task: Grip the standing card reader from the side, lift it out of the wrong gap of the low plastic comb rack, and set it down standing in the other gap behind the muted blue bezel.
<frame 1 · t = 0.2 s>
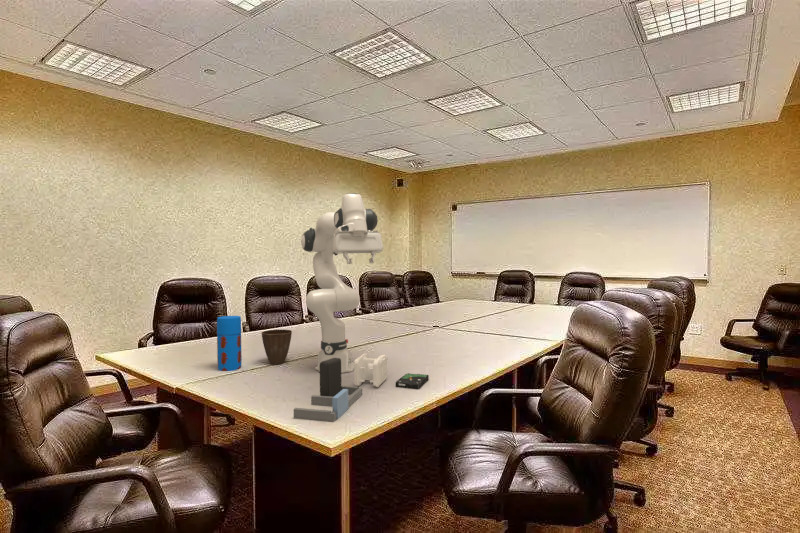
hand: (360, 263, 171), 52 cm above the table, tool tilted 20°, fingers open, 8 cm apart
cable organizer: (371, 383, 184), on the table
comb rack: (328, 405, 157), on the table
plant pot: (277, 363, 220), on the table
card reader: (330, 399, 164), resting in comb rack
thermos: (229, 368, 210), on the table
disk drive: (412, 384, 184), on the table
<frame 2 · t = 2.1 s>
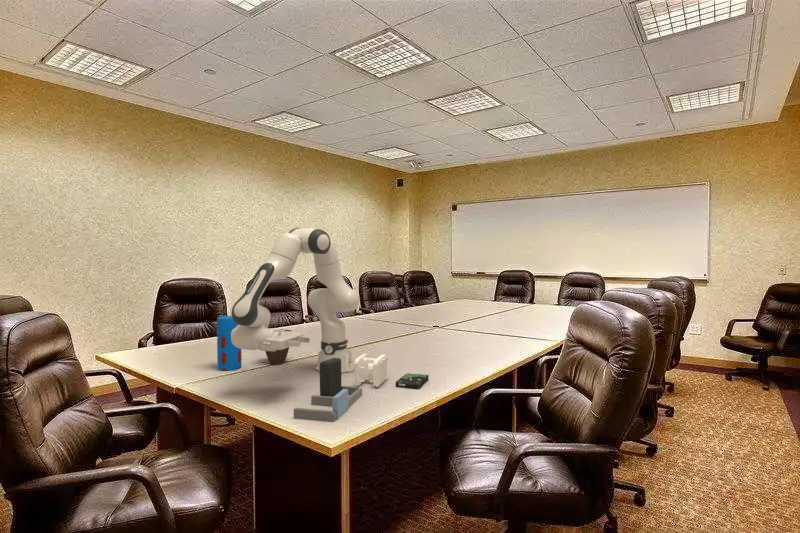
hand: (304, 342, 166), 21 cm above the table, tool horizontal, fingers open, 8 cm apart
nothing on the table moved.
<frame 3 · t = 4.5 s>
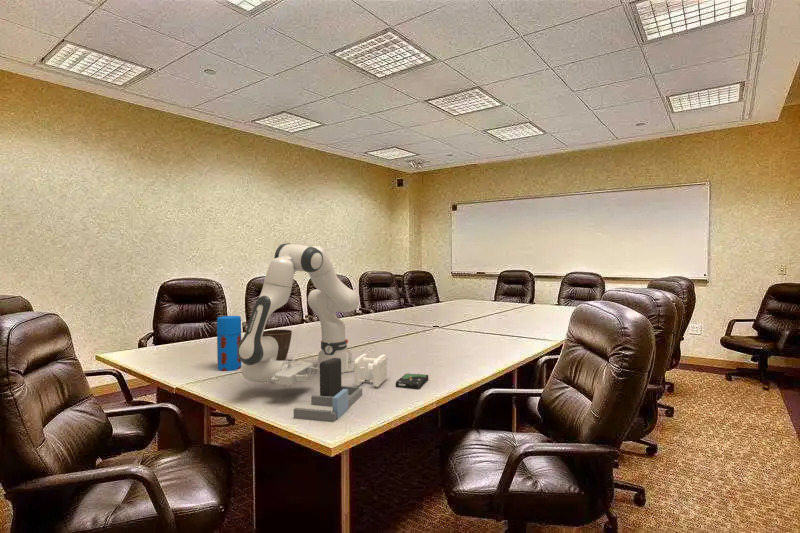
hand: (313, 374, 166), 9 cm above the table, tool horizontal, fingers open, 8 cm apart
nothing on the table moved.
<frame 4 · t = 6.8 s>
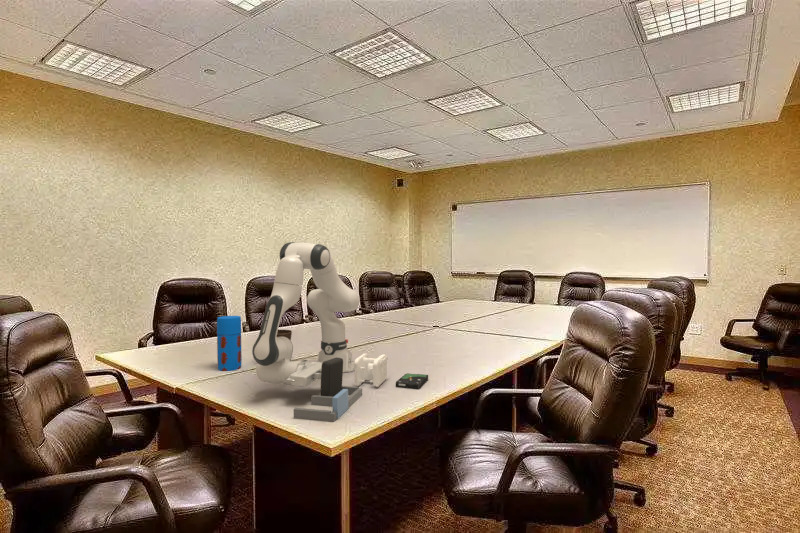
hand: (329, 375, 164), 9 cm above the table, tool horizontal, fingers closed on card reader
card reader: (330, 398, 164), resting in comb rack, touching gripper
everything else where it was.
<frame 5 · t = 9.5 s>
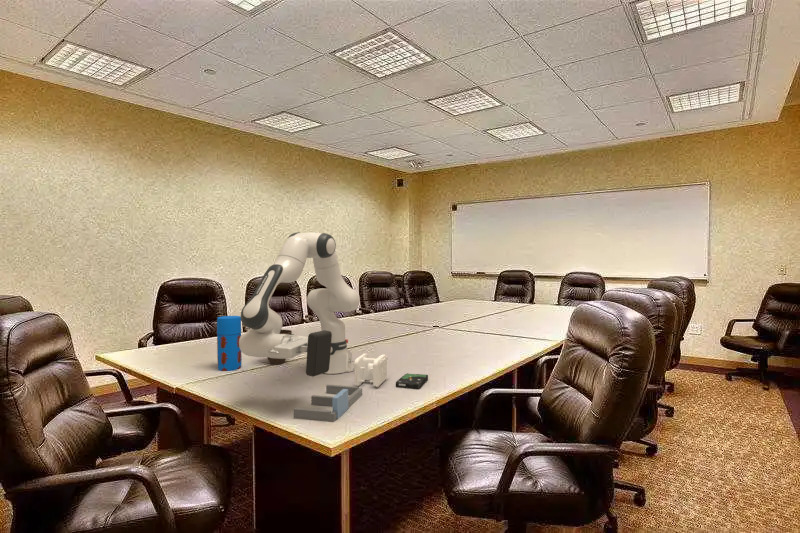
hand: (316, 348, 153), 22 cm above the table, tool horizontal, fingers closed on card reader
card reader: (317, 374, 153), point 12 cm above the table, touching gripper
everything else where it was.
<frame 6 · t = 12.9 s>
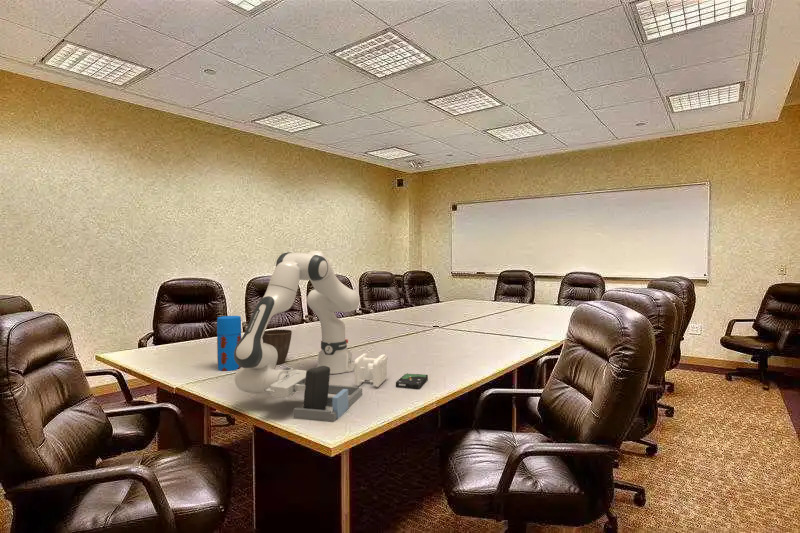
hand: (313, 385, 151), 9 cm above the table, tool horizontal, fingers open, 4 cm apart
card reader: (315, 410, 151), resting in comb rack
everything else where it was.
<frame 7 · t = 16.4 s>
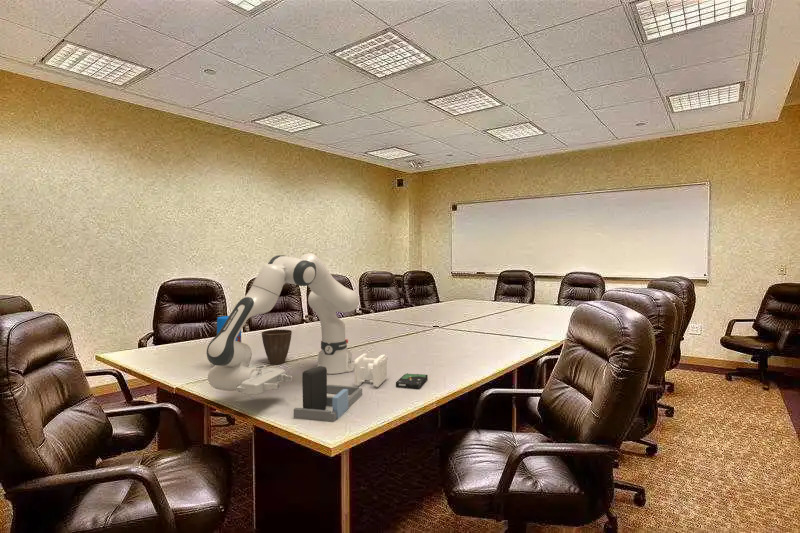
hand: (284, 382, 154), 9 cm above the table, tool horizontal, fingers open, 8 cm apart
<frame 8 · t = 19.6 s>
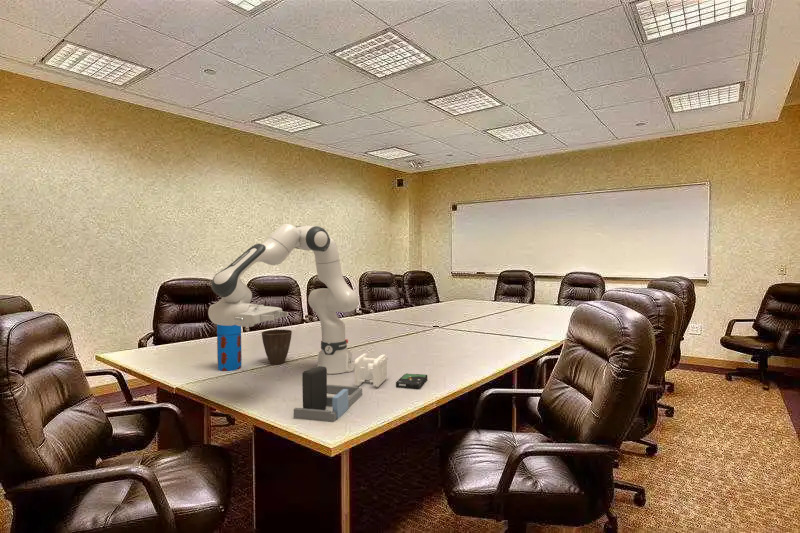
hand: (280, 316, 161), 32 cm above the table, tool horizontal, fingers open, 8 cm apart
nothing on the table moved.
at the end: card reader inside the target area on the comb rack (0.3 cm from its centre), point 0.0 cm above the comb rack's base; card reader tilted 0°; the gripper is holding nothing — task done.
